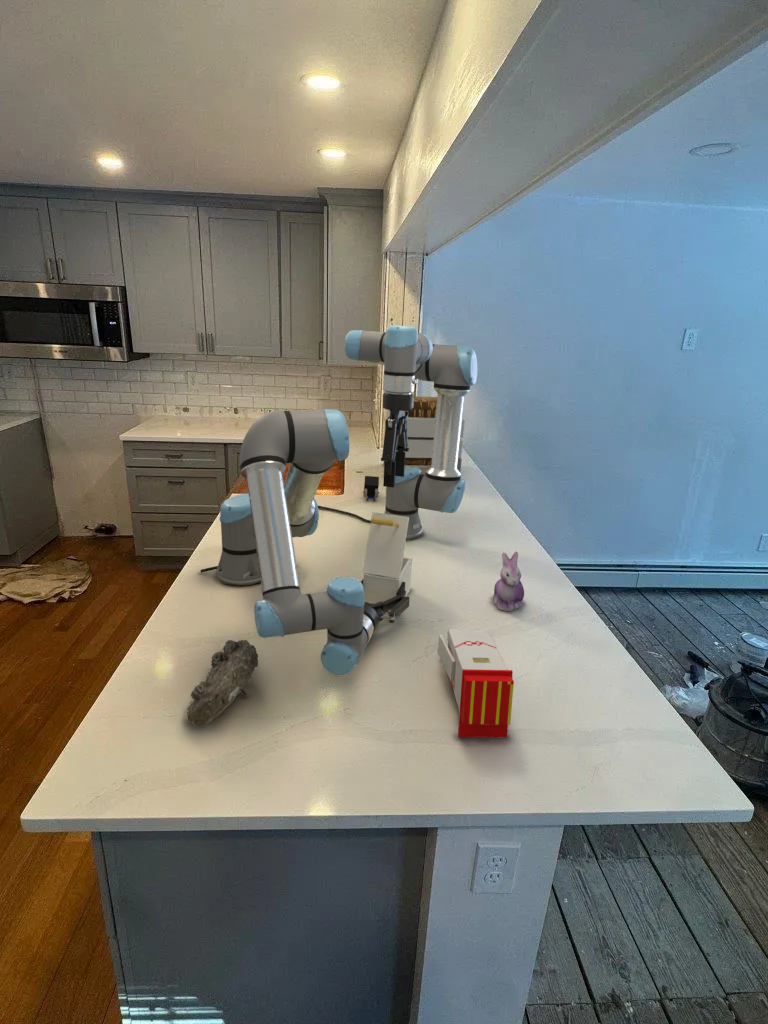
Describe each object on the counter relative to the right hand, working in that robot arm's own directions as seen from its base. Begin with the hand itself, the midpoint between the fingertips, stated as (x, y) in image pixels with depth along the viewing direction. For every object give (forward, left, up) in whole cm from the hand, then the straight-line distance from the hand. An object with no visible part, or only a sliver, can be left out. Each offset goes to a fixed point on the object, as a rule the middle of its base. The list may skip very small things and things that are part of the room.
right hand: (394, 481), depth 145 cm
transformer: (-85, +94, -33) cm, 131 cm away
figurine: (+23, +24, -33) cm, 47 cm away
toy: (+42, -14, -33) cm, 55 cm away
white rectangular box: (+3, -4, -16) cm, 17 cm away
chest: (+1, -1, -33) cm, 33 cm away
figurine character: (-69, +51, -33) cm, 92 cm away
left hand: (+3, -4, -27) cm, 27 cm away
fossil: (+12, -53, -33) cm, 64 cm away
